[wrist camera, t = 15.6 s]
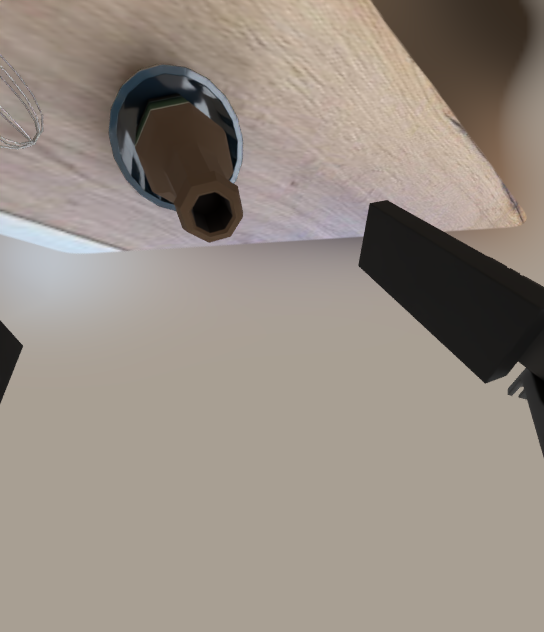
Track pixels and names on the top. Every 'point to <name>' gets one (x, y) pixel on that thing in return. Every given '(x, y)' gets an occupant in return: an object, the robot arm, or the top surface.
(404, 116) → the top surface
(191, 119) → the beer bottle
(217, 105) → the metal cup
